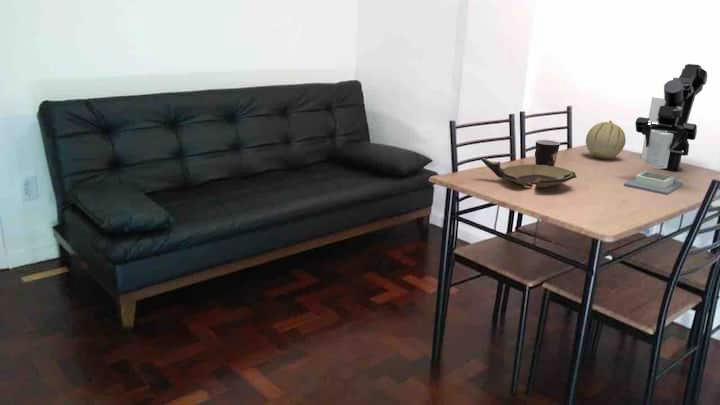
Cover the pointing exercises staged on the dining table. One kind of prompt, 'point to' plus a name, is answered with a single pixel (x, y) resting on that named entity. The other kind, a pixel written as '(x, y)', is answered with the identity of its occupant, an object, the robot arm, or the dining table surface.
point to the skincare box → (658, 149)
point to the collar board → (654, 182)
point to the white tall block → (653, 118)
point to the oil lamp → (532, 174)
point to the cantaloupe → (605, 140)
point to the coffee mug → (546, 152)
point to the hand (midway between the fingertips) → (658, 148)
